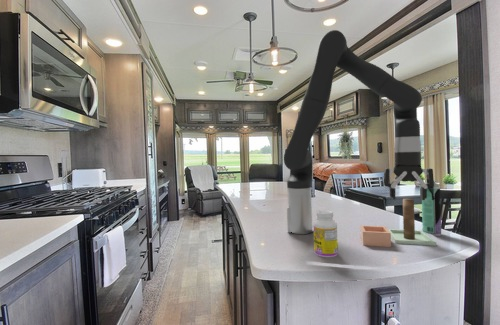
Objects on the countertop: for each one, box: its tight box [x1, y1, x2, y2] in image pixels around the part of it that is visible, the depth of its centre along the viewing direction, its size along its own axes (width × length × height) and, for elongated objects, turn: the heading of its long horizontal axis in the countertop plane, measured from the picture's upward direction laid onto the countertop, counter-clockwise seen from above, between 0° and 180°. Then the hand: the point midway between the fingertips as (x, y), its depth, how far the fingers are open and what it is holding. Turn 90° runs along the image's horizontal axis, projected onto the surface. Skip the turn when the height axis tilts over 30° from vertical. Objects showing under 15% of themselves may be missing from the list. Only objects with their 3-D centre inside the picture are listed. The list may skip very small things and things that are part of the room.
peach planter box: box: [359, 224, 392, 248], centre depth 83 cm, size 8×8×5 cm
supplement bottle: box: [312, 209, 339, 258], centre depth 75 cm, size 7×7×13 cm
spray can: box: [421, 181, 442, 237], centre depth 92 cm, size 6×6×20 cm
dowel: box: [402, 198, 416, 240], centre depth 85 cm, size 3×3×13 cm
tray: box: [387, 228, 437, 247], centre depth 85 cm, size 11×13×2 cm
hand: (407, 199), depth 86 cm, fingers open, 8 cm apart
